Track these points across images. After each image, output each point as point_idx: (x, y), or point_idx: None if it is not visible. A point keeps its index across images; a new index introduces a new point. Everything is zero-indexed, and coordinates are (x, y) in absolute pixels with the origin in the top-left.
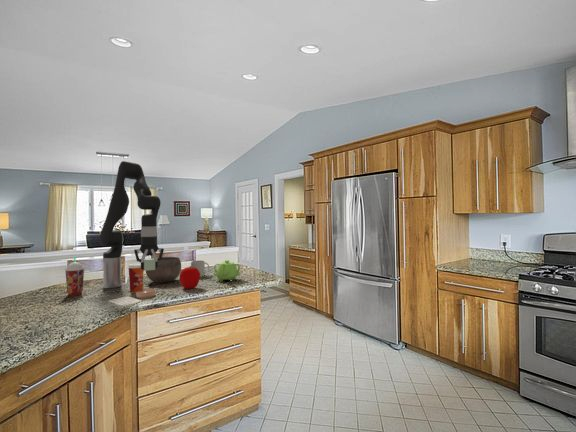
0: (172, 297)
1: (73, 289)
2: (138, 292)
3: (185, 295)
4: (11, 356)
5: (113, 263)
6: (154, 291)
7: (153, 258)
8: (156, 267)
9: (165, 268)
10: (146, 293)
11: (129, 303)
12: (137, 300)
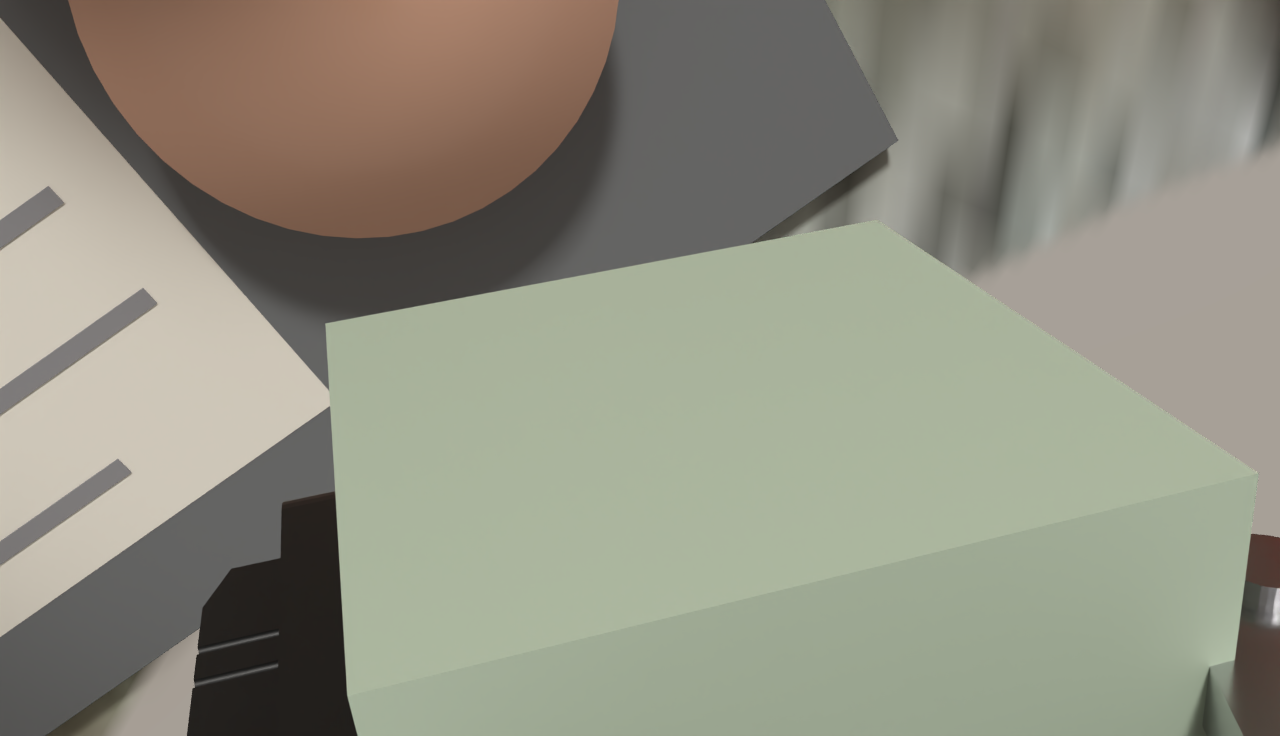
0: (938, 208)
1: None
2: (163, 68)
3: (1192, 130)
4: None
5: None
6: (602, 61)
7: (1201, 483)
8: None
9: None
10: (410, 228)
11: (87, 544)
12: (218, 352)
